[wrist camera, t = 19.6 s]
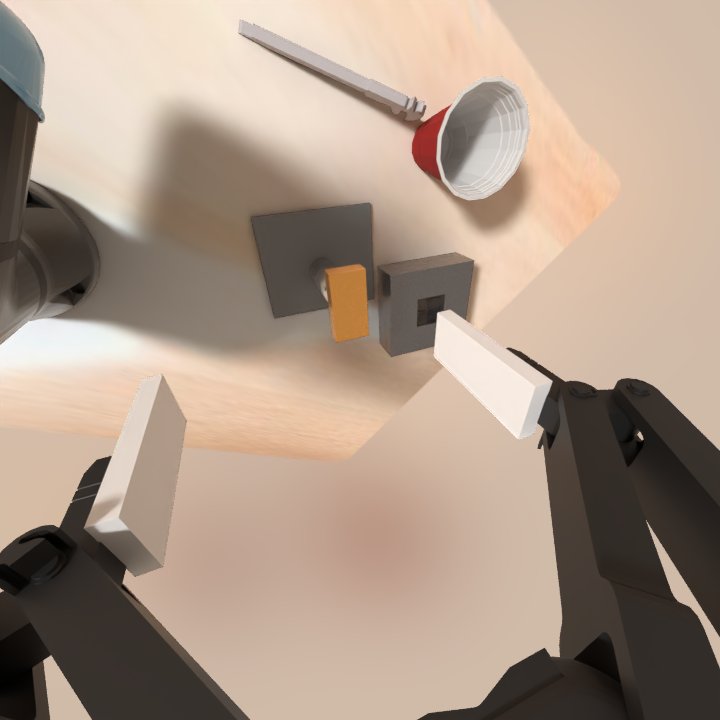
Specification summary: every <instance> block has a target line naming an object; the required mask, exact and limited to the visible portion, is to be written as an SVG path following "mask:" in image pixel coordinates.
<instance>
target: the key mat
mask: <svg viewBox="0 0 720 720" xmlns="http://www.w3.org/2000/svg"><path fill="white" fill-rule="evenodd" d="M251 221H252V225H253V229H254V234H255V238H256V242H257V246H258V250H259V255H260V259H261V263H262V267H263V271H264V276H265V280H266V284H267V288H268V292H269V297H270V301H271V305H272V309H273V313H274V318H280V317H285V316H290V315H295V314H300V313H305V312H310V311H315V310H320V309H325V308H329V305H328V302H327V300H326V299H325V297H324V296H323V294H322V293H321V291H320V290H319V288H318V286H317V285H316V283H315V282H314V280H313V279H312V277H311V276H310V266H311V264H312V263H313V262H314V261H315V260H317V259H320V258H323V259H327V260H328V261H330V262H331V264H332V265H333V266H334V267H335V268H337V267H343V266H349V265H355V264H360V265H361V266H363V267H364V268H365V269H366V287H367V300H370V299H374V285H373V260H372V234H371V209H370V203H364V204H356V205H348V206H340V207H332V208H323V209H315V210H307V211H299V212H290V213H282V214H274V215H266V216H257V217H251Z"/></svg>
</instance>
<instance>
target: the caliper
mask: <svg viewBox="0 0 720 720" xmlns="http://www.w3.org/2000/svg"><path fill="white" fill-rule="evenodd" d="M238 33H239V34H241V35H243V36H245V37H248V38H250V39H252V40H253V41H255V42H257V43H258V44H260V45H262V46H264V47H266V48H268V49H270V50H272V51H274V52H277V53H279V54H281V55H283V56H285V57H287V58H289V59H292V60H294V61H296V62H298V63H300V64H302V65H305V66H307V67H309V68H311V69H313V70H315V71H318V72H320V73H322V74H324V75H326V76H328V77H330V78H333V79H335V80H337V81H339V82H341V83H343V84H345V85H348V86H350V87H352V88H354V89H356V90H358V91H360V92H362V93H365V96H367V97H369V98H372V99H374V100H375V101H377V102H380V103H383V104H386V105H388V106H391V108H392V113H393V114H395V115H397V114H399V113H400V112H401V111H403V112H406V113H407V114H406V118H405V120H407V121H413V120H419V119H420V118H422V117H423V115H424V112H425V109H426V105H424V103H425V101H418V102H416V101H417V99H416V97H415V96H414V97H413V98H412V99H409V98H408V96H406V95H404V94H402V93H400V92H398V91H395V90H393V89H391V88H389V87H387V86H385V85H383V84H381V83H379V82H377V81H375V80H372V79H367V78H365V77H363V76H361V75H359V74H357V73H355V72H353V71H351V70H349V69H347V68H345V67H343V66H341V65H338V64H336V63H334V62H332V61H330V60H328V59H326V58H324V57H322V56H320V55H318V54H316V53H314V52H312V51H309V50H307V49H305V48H303V47H301V46H299V45H297V44H295V43H293V42H291V41H289V40H287V39H284V38H282V37H280V36H278V35H276V34H274V33H272V32H270V31H268V30H266V29H264V28H262V27H260V26H257V25H255V24H253V25H252V24H250V23H248V22H245V21H243V20H240V21H239V31H238Z"/></svg>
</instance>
